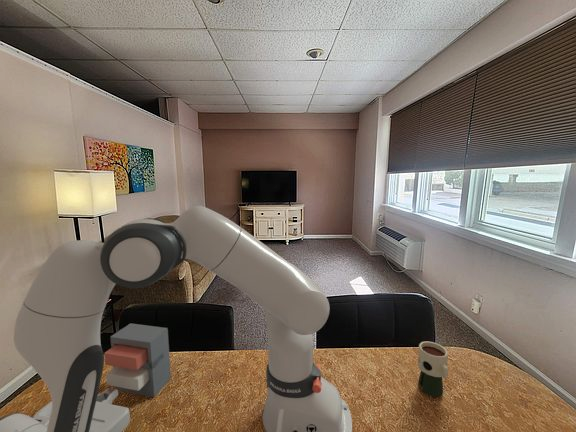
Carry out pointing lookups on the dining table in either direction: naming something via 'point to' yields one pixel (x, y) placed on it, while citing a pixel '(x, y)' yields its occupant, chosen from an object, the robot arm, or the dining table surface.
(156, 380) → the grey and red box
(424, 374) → the character mug
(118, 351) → the red button
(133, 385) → the pale button
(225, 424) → the dining table surface
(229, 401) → the dining table surface
